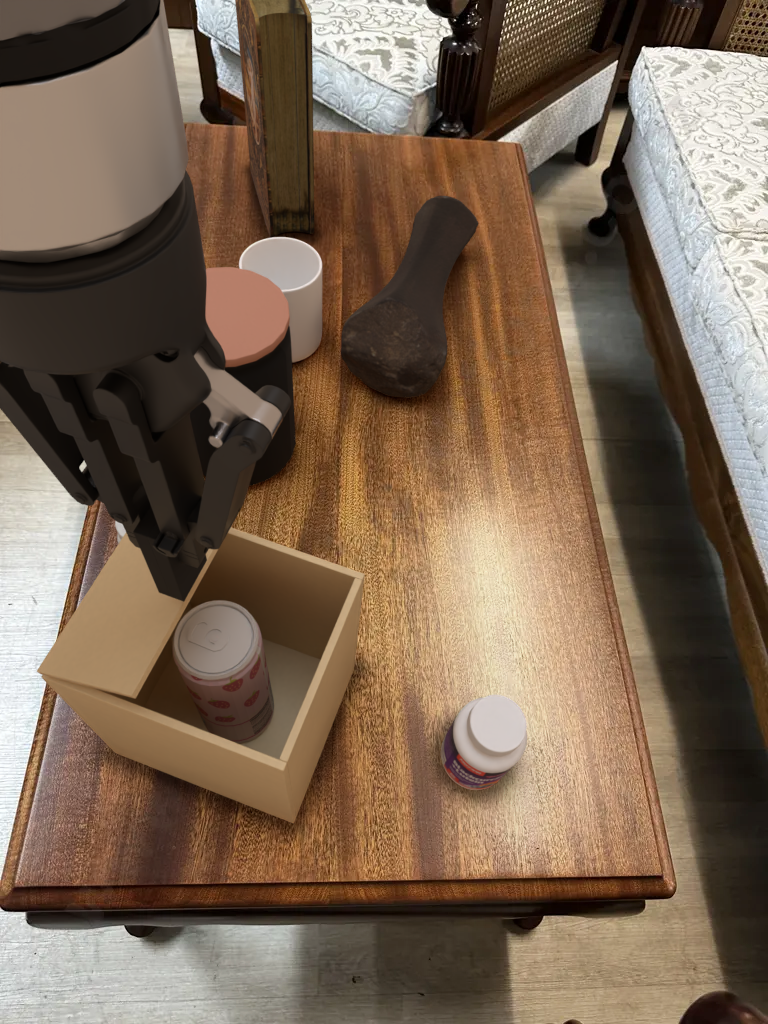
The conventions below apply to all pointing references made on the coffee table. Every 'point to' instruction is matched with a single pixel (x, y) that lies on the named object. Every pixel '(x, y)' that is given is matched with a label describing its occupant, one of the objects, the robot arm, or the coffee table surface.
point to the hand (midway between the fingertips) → (183, 575)
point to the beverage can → (225, 669)
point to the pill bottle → (484, 742)
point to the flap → (118, 626)
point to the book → (279, 109)
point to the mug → (292, 286)
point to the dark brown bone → (410, 307)
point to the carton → (292, 670)
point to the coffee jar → (250, 355)
